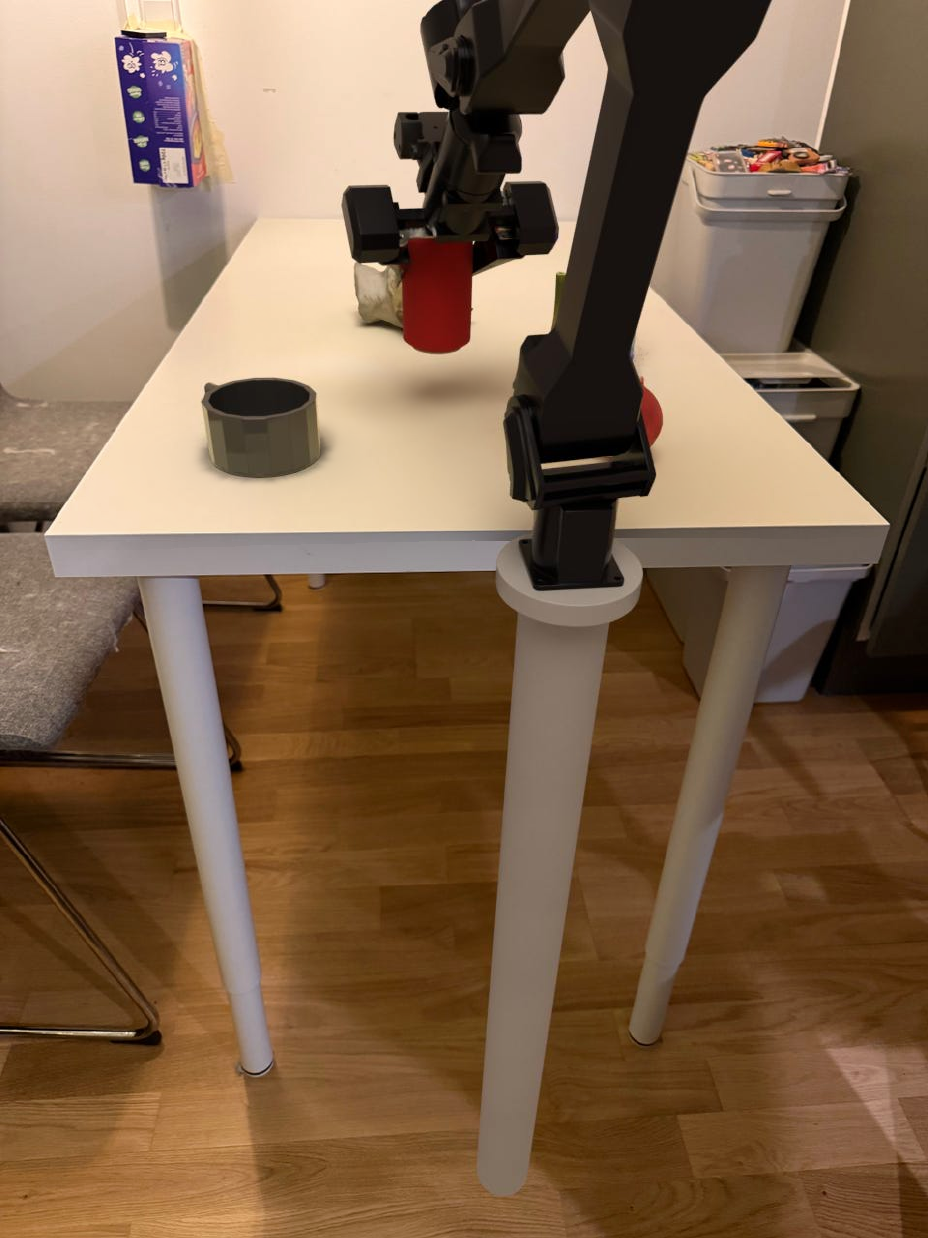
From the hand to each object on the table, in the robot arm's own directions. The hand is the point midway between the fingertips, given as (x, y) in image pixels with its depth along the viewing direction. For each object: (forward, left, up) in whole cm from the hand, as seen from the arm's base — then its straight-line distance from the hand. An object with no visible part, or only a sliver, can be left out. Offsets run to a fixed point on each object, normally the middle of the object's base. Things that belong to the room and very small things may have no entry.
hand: (433, 274), depth 85 cm
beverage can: (-1, 0, -7) cm, 7 cm away
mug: (-10, +18, -13) cm, 24 cm away
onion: (-15, -17, -13) cm, 26 cm away
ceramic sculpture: (+27, +1, -13) cm, 30 cm away
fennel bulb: (+40, -13, -9) cm, 43 cm away
